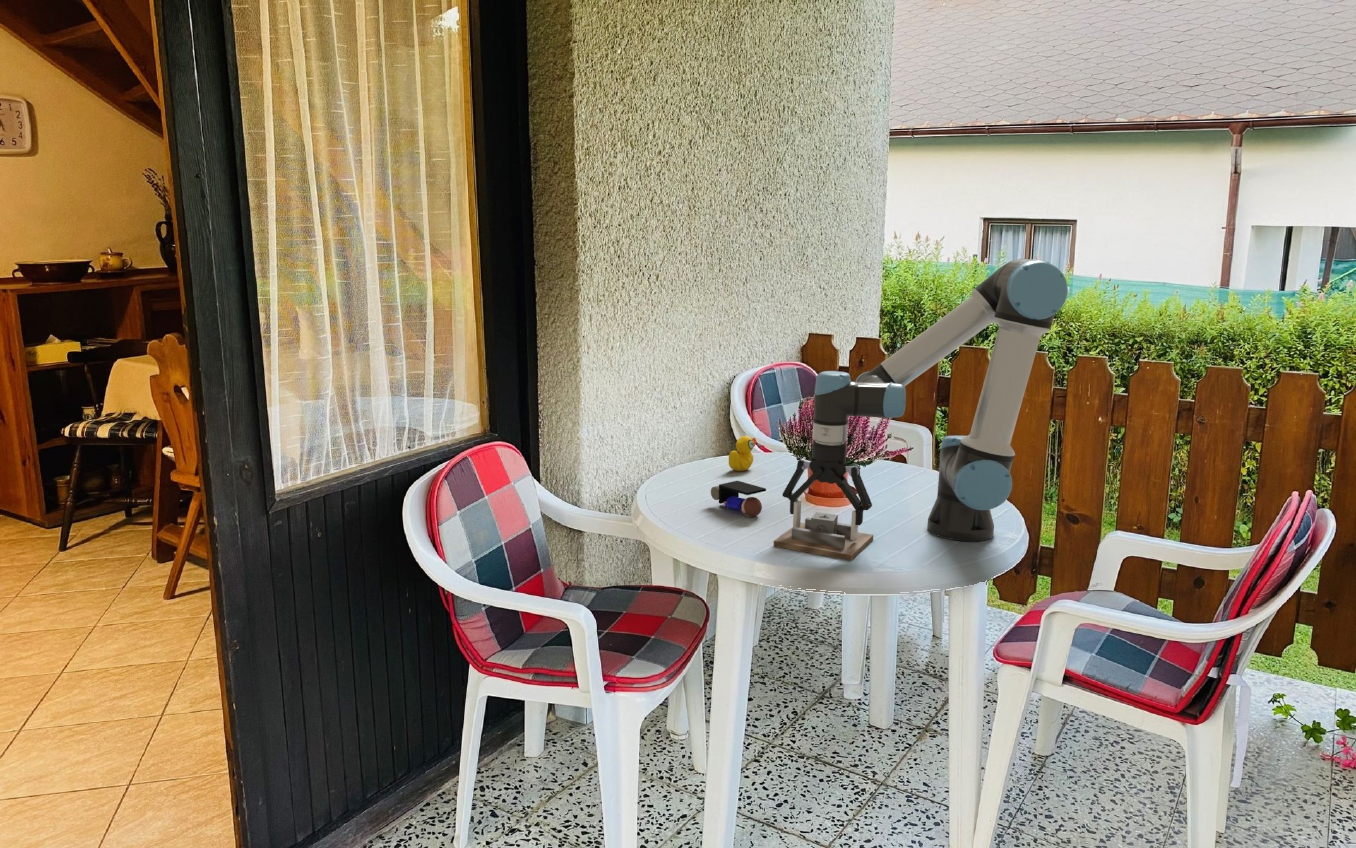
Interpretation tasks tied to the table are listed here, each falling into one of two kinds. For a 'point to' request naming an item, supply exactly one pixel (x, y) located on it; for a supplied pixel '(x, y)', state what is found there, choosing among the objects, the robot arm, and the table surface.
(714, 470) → the table surface
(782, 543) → the cradle
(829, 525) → the dice cube
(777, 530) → the table surface
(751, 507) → the figurine character
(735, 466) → the duckling
